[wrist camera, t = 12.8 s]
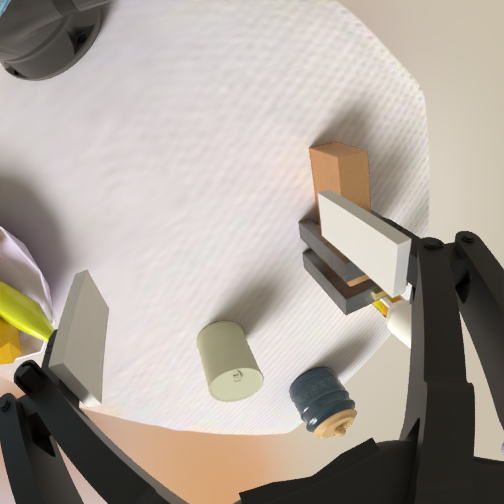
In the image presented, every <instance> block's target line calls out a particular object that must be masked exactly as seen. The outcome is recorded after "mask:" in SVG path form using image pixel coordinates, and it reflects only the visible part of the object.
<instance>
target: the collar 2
mask: <svg viewBox="0 0 504 504" xmlns="http://www.w3.org/2000/svg"><path fill="white" fill-rule="evenodd" d="M303 261H304V268H305V269H306V270H307V271H308V272H309V274H310V275H311V276H312V277H313V278H314V279H315V280H316V282H317V283H318V284H319V285H320V286H321V287H322V288H323V290H324V291H325V292H326V293H327V294H328V295H329V296H330V298H331V299H332V300H333V301H334V302H335V303H336V305H337V306H338V307H339V308H340V309H341V310H342V311H343V313H344V314H345V315H348V314H350V313H352V312H354V311H356V310H359V309H361V308H363V307H365V306H367V305H369V304H371V303H373V302H375V301H377V300H379V299H381V298H384V297H386V296H388V294H387V293H386V292H385V291H384V290H383V289H382V288H381V287H380V286H379V285H378V284H376V283H375V282H374V281H373V280H372V279H371V278H370V279H367V280H365V281H363V282H361V283H358V284H356V285H354V286H351V287H350V286H349V285H348V284H347V283H346V282H345V281H344V280H343V279H342V278H341V277H340V276H339V275H338V274H337V273H336V272H335V271H334V270H333V269H332V268H331V267H330V266H329V265H328V264H327V263H326V262H325V261H324V260H323V259H322V258H321V257H320V256H318V255H317V254H316V253H315V252H314V251H313V250H311V251H308V252H305V253H303ZM407 285H408V281H407V282H406V286H407Z"/></svg>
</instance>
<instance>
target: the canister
mask: <svg viewBox="0 0 504 504" xmlns="http://www.w3.org/2000/svg"><path fill="white" fill-rule="evenodd" d="M289 393H290V397H291V399H292V401H293V403H294V404H295V406H296V408H297V410H298V412H299V413H300V415H301V419H302V420H303V421H305V422H306V424H307V425H306V428H307V430H308V431H310V432H314V436H315V437H319V438H320V437H324V438H328V437H332V436H335V435H337V436H343V435H344V434H345V432H346V430H345V429H347V428H348V427H349V426H350V425H351V424H352V423H353V420H354V418H355V417H356V415H357V411H356V410H354V408H355V402H354V401H353V400H351V399H350V398H349V393H348V392H347V391H346V390H345V388H344V387H343V385H342V384H341V382H340V381H339V379H338V377H337V375H336V374H335V372H334V371H332V370H331V369H330V368H328V367H319V368H315V369H312V370H310V371H308V372H306V373H304V374H303V375H301V376H300V377H299V378H297V379H296V380H295V381H294V382H293V384H292V385H291V387H290V390H289Z"/></svg>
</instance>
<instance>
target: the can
mask: <svg viewBox="0 0 504 504" xmlns="http://www.w3.org/2000/svg"><path fill="white" fill-rule="evenodd" d="M197 347H198V349H199V352H200V356H201V360H202V364H203V367H204V371H205V375H206V379H207V383H208V387H209V393H210V395H211V396H212V397H213V398H214V399H216V400H219V401H223V402H234V401H239V400H242V399H245V398H247V397H249V396H251V395H253V394H254V393H255V392H257V391H258V390H259V389H260V387H261V386H262V384H263V380H264V378H263V374H262V373H261V371H260V369H259V367H258V365H257V363H256V361H255V358H254V356H253V354H252V352H251V349H250V347H249V345H248V342H247V340H246V337H245V334H244V331H243V329H242V328H241V327H240V326H239V325H238V324H236V323H234V322H230V321H220V322H215V323H212V324H210V325H208V326H207V327H205V328H204V329H203V330H202V331H201V332H200V333H199V335H198V337H197Z"/></svg>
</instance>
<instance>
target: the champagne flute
mask: <svg viewBox="0 0 504 504" xmlns="http://www.w3.org/2000/svg"><path fill="white" fill-rule="evenodd" d="M369 279H370V277H369ZM380 300H381V301H382V302H383V303H384V304H385V305H386V306H387V307H388V311H387V317H386V322H387V327H388V329H389V331H391V332H392V333H393V334H394V335H395V336H397V337H398V338H399V339H400V340H401V341H402V342H403V343H405V344H406V345H407V346H408V347H409V348H410V349H411V304H409V301H408V300H402V301H398V302H394V303H392V302H391V301H390V300H389V299H387V298H386V297H384V298H381V299H380Z"/></svg>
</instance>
